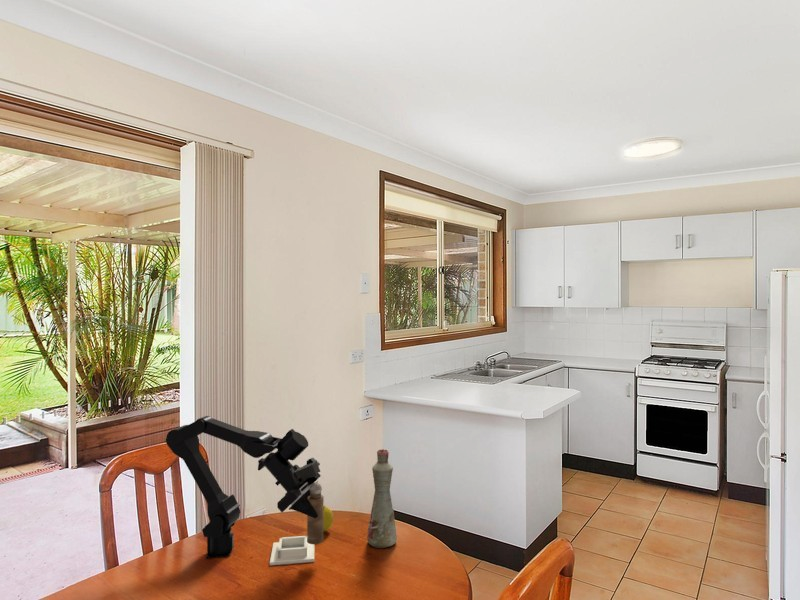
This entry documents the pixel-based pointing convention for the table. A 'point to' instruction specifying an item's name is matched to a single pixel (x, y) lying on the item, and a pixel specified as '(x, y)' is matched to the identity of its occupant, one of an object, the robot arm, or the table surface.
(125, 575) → the table surface
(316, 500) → the pepper mill
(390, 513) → the bottle
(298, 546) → the mill stand
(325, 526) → the lemon
